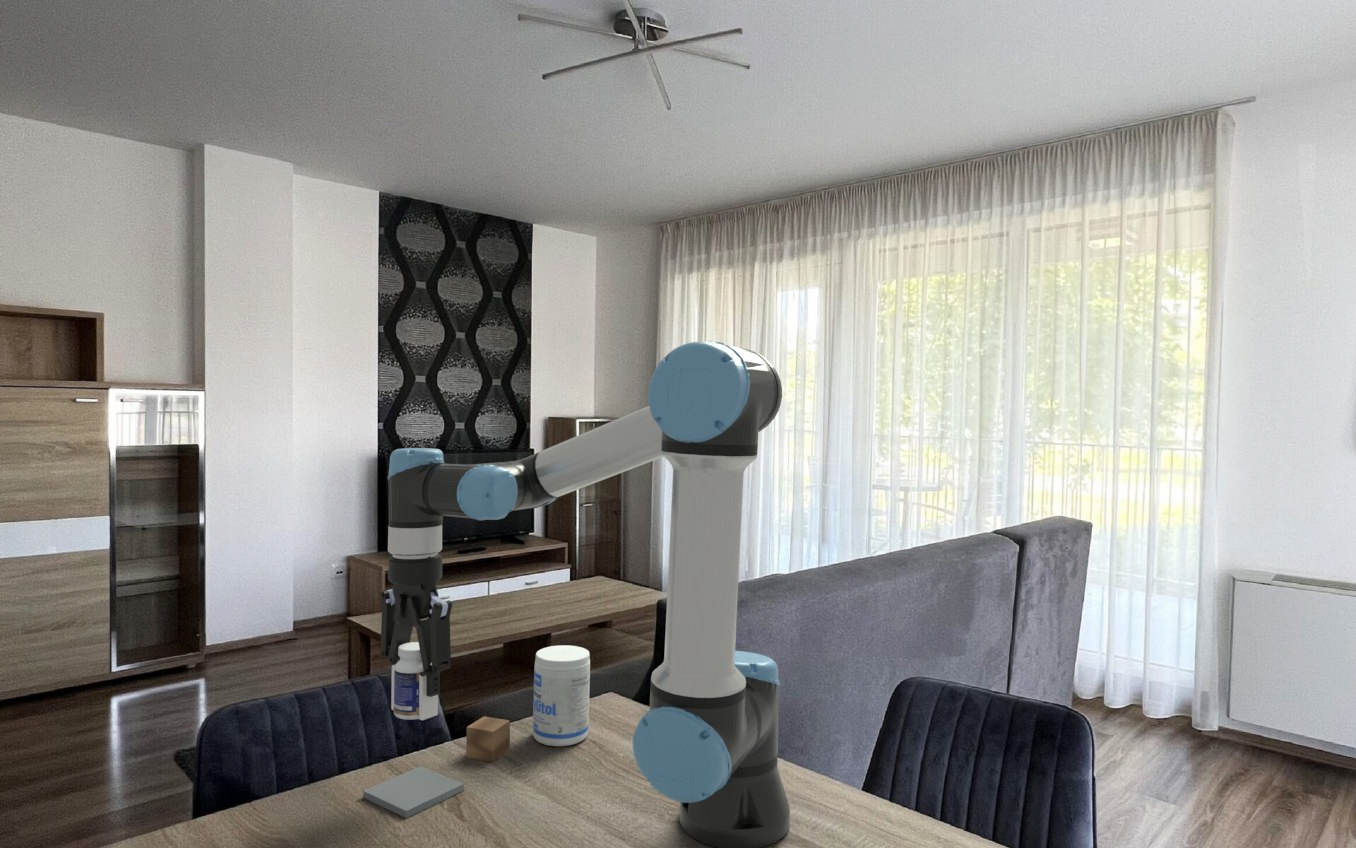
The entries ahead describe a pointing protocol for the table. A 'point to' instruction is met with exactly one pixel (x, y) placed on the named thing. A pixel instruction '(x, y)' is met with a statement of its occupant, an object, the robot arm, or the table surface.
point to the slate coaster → (413, 791)
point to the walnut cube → (488, 739)
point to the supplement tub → (561, 695)
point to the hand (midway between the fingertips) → (414, 711)
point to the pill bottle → (407, 681)
